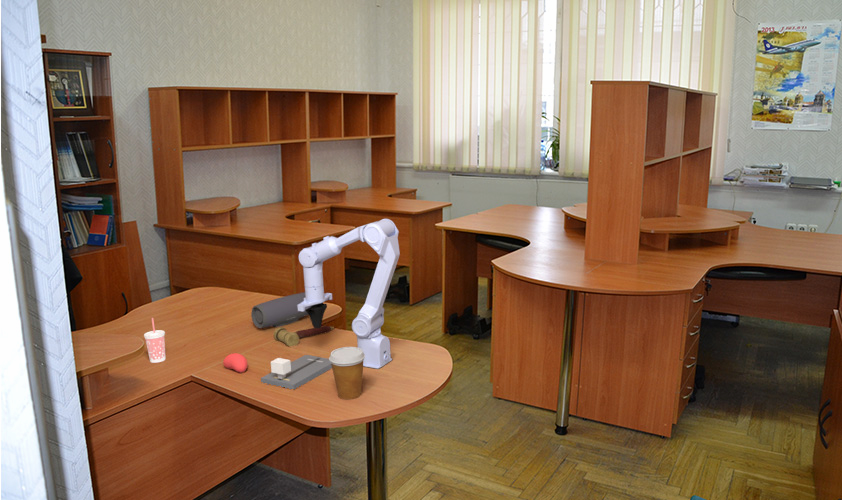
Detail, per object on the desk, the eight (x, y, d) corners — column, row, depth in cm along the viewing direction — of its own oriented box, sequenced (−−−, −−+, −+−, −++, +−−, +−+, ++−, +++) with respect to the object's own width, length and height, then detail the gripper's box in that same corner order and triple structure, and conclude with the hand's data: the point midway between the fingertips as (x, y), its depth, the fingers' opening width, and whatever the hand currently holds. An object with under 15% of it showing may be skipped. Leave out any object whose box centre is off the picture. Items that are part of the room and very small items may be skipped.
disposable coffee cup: (368, 386, 179) (365, 345, 176) (366, 401, 169) (363, 358, 167) (333, 388, 178) (330, 347, 176) (330, 403, 169) (326, 359, 167)
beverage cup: (147, 358, 207) (142, 316, 204) (168, 355, 209) (162, 314, 207) (147, 365, 202) (141, 322, 199) (168, 361, 204) (162, 319, 201)
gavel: (326, 318, 232) (341, 324, 224) (326, 330, 233) (341, 337, 225) (272, 328, 219) (286, 334, 211) (273, 341, 220) (287, 348, 212)
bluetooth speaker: (303, 313, 249) (301, 288, 247) (318, 318, 243) (316, 292, 241) (251, 328, 233) (249, 302, 231) (265, 334, 227) (263, 306, 225)
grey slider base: (337, 364, 195) (337, 359, 195) (293, 390, 178) (293, 384, 178) (306, 359, 201) (305, 354, 201) (261, 382, 184) (260, 377, 184)
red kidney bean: (244, 367, 200) (232, 350, 199) (254, 364, 193) (242, 347, 192) (230, 377, 197) (218, 360, 196) (240, 375, 190) (228, 357, 189)
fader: (291, 376, 183) (290, 360, 182) (284, 380, 180) (282, 364, 179) (279, 374, 185) (278, 357, 184) (272, 378, 182) (270, 361, 181)
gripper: (318, 278, 207) (321, 319, 210) (288, 289, 195) (292, 332, 197) (336, 280, 203) (339, 321, 206) (306, 292, 191) (310, 335, 194)
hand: (317, 327), depth 202 cm, fingers closed
